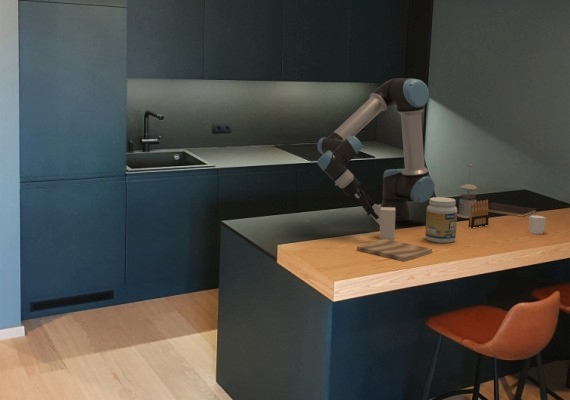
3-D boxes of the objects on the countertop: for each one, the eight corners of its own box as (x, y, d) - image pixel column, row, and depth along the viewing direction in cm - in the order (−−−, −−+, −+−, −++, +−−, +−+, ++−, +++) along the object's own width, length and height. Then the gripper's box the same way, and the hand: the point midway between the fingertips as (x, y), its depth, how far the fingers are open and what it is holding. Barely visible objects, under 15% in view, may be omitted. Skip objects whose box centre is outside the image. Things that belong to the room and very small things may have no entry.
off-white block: (379, 238, 292) (380, 209, 290) (379, 235, 298) (380, 207, 296) (394, 239, 291) (395, 210, 289) (394, 235, 297) (395, 207, 295)
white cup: (536, 235, 301) (537, 218, 300) (524, 231, 307) (525, 215, 306) (548, 233, 304) (549, 217, 303) (535, 230, 310) (537, 214, 309)
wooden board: (356, 250, 273) (356, 246, 273) (385, 242, 286) (385, 238, 285) (404, 261, 258) (404, 257, 258) (431, 252, 270) (432, 248, 270)
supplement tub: (449, 245, 282) (452, 203, 279) (420, 241, 289) (422, 200, 286) (459, 239, 293) (462, 198, 290) (431, 235, 299) (433, 195, 296)
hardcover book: (522, 218, 338) (522, 213, 337) (477, 211, 353) (478, 206, 352) (536, 213, 349) (536, 208, 349) (492, 206, 364) (492, 202, 364)
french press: (455, 216, 336) (457, 164, 332) (458, 212, 347) (461, 161, 342) (476, 218, 333) (479, 165, 328) (479, 214, 343) (482, 162, 339)
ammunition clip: (471, 228, 312) (473, 201, 310) (468, 227, 314) (469, 200, 312) (488, 225, 318) (490, 199, 316) (485, 225, 320) (486, 198, 317)
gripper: (343, 184, 305) (377, 220, 306) (339, 194, 281) (376, 233, 282) (355, 172, 303) (390, 208, 304) (353, 181, 279) (390, 220, 280)
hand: (383, 220), depth 293 cm, fingers open, 13 cm apart
